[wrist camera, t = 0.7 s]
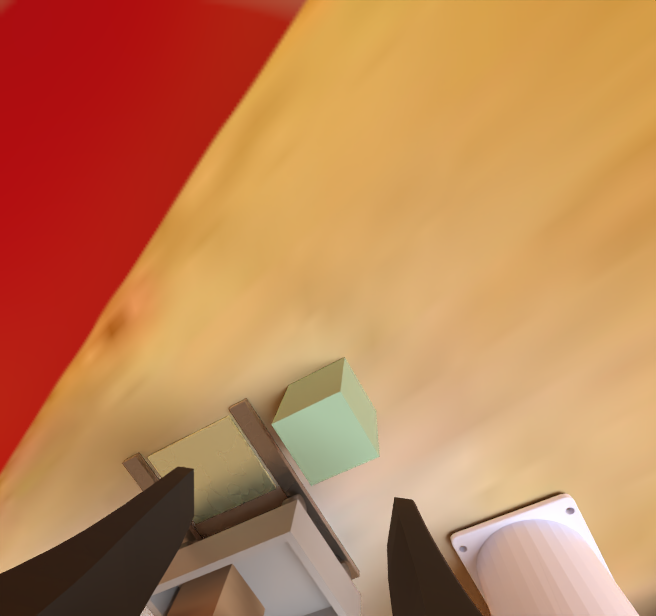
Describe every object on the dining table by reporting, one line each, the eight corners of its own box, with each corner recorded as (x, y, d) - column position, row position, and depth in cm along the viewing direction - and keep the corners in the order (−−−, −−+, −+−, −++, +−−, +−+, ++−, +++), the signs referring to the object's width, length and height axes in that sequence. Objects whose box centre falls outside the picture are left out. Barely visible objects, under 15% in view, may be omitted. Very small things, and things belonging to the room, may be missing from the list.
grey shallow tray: (360, 573, 24) (361, 635, 20) (230, 621, 26) (209, 684, 22) (301, 482, 23) (290, 531, 19) (169, 540, 25) (136, 593, 21)
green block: (375, 410, 22) (379, 456, 18) (320, 435, 23) (311, 485, 18) (344, 356, 21) (340, 391, 17) (288, 384, 22) (271, 424, 18)
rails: (359, 571, 25) (359, 576, 24) (241, 614, 27) (239, 619, 26) (246, 398, 22) (244, 401, 22) (125, 459, 24) (122, 463, 24)
